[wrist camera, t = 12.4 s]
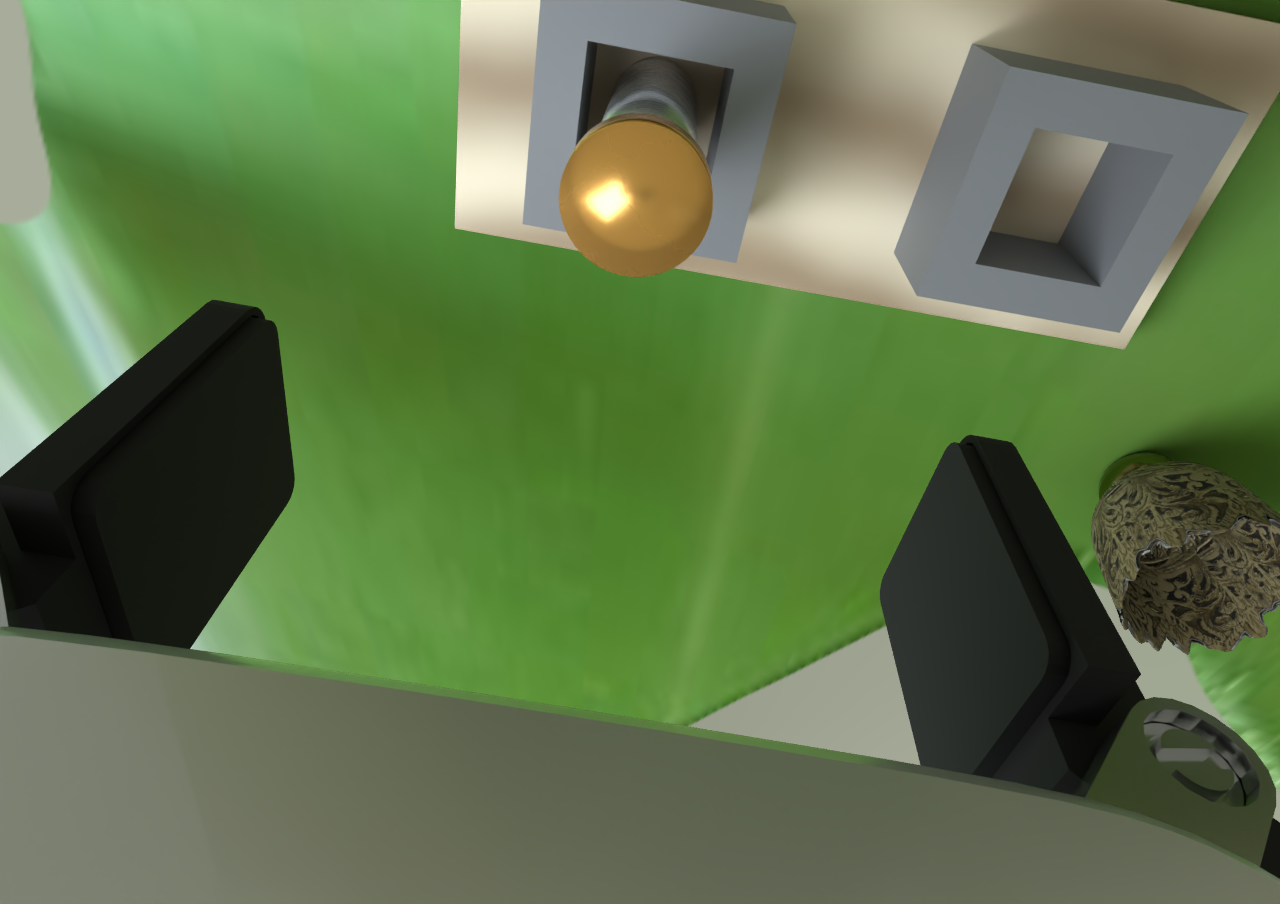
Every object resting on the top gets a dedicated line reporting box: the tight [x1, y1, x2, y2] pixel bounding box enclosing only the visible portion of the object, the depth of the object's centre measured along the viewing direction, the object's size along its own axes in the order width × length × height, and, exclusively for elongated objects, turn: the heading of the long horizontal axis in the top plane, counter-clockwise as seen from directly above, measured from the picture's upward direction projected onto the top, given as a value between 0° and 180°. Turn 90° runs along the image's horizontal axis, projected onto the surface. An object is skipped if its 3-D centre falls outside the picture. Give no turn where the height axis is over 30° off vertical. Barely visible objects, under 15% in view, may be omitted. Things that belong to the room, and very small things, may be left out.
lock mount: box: [894, 44, 1249, 333], centre depth 27 cm, size 8×8×4 cm
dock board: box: [455, 0, 1280, 349], centre depth 29 cm, size 12×28×2 cm, turn 80°
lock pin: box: [559, 57, 713, 277], centre depth 24 cm, size 4×4×11 cm
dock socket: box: [522, 0, 797, 263], centre depth 27 cm, size 8×8×4 cm
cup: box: [1091, 453, 1280, 655], centre depth 35 cm, size 8×7×8 cm
